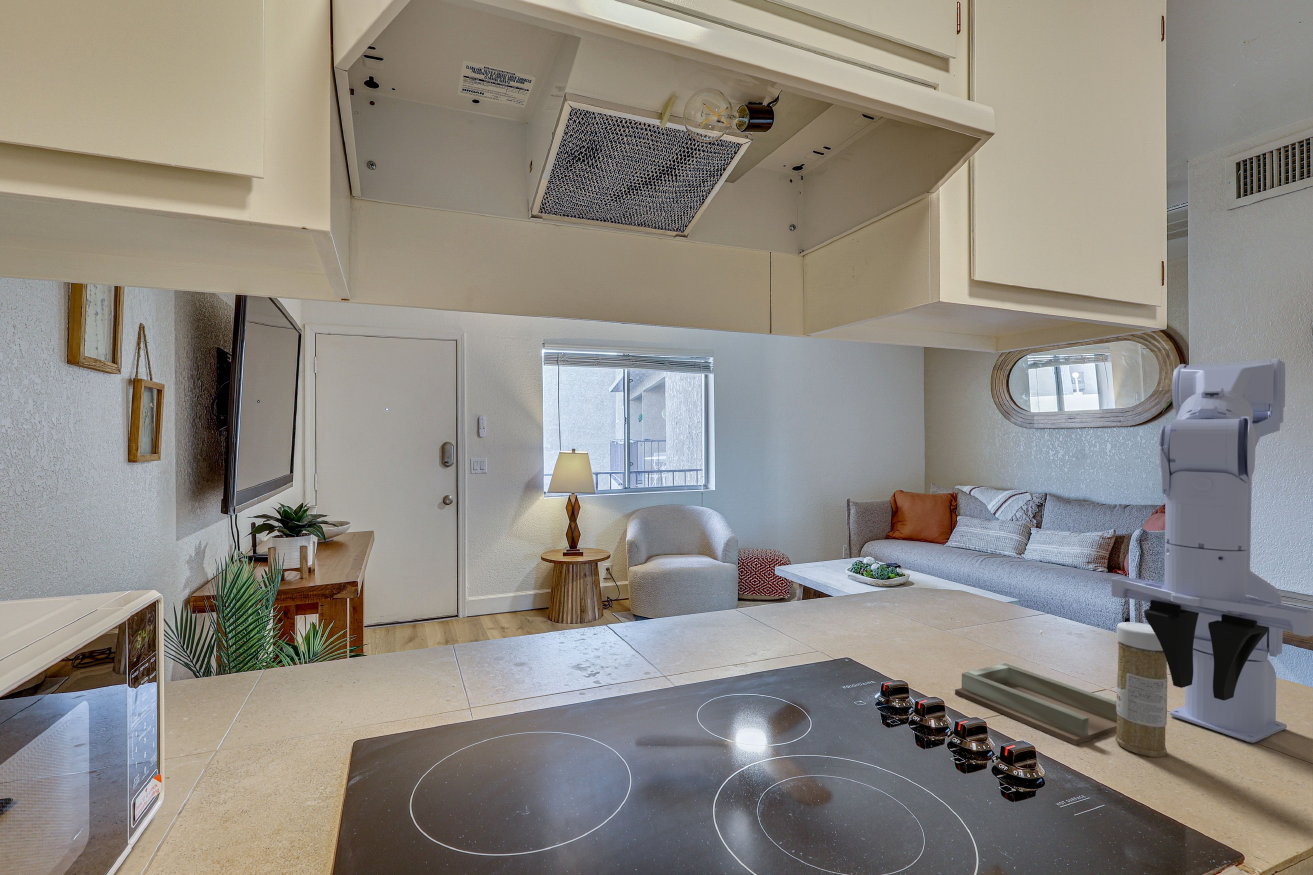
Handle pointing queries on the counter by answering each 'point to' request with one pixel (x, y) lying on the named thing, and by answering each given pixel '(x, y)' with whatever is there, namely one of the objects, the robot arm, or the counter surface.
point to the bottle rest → (1041, 702)
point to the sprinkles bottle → (1141, 690)
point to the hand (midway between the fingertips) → (1202, 691)
